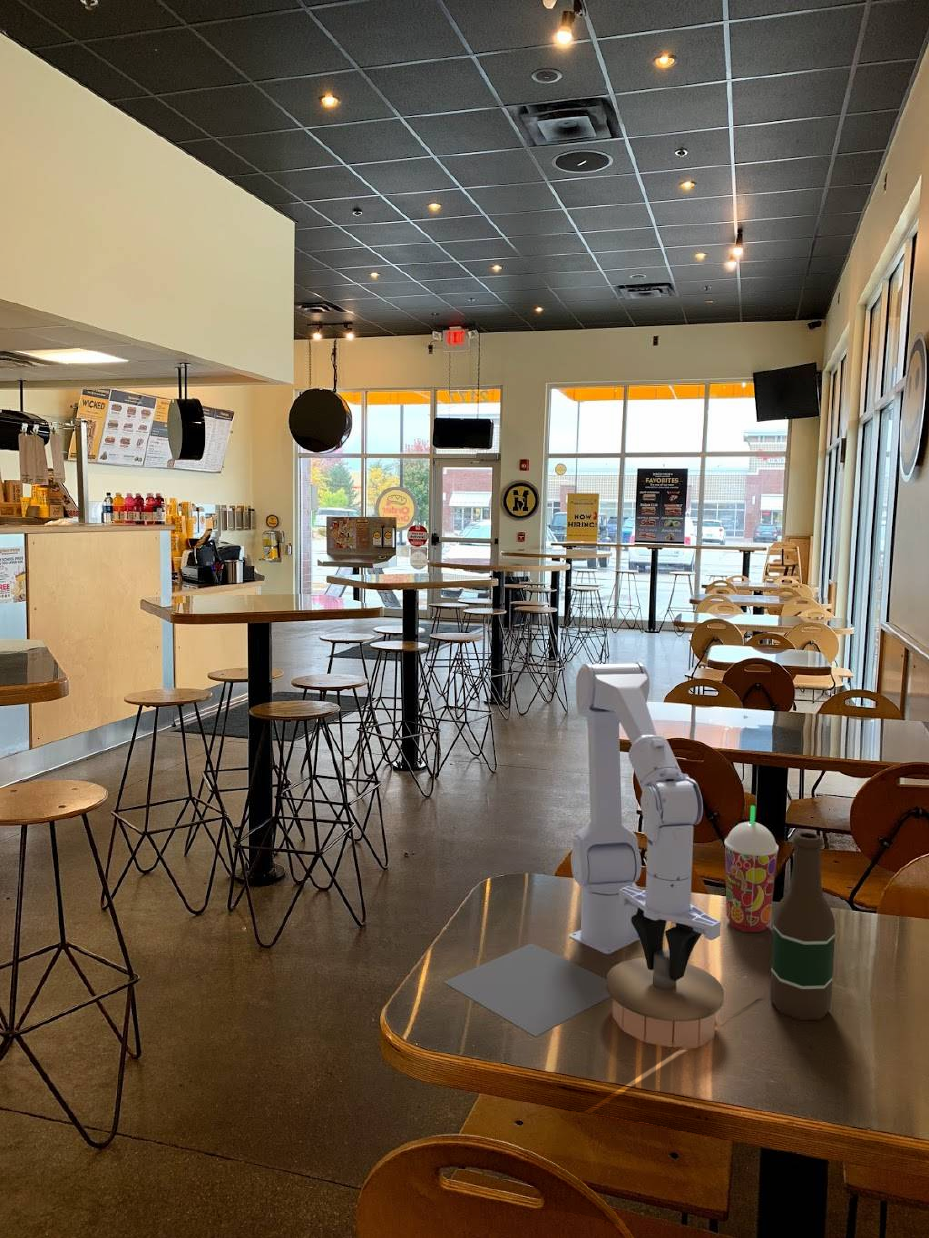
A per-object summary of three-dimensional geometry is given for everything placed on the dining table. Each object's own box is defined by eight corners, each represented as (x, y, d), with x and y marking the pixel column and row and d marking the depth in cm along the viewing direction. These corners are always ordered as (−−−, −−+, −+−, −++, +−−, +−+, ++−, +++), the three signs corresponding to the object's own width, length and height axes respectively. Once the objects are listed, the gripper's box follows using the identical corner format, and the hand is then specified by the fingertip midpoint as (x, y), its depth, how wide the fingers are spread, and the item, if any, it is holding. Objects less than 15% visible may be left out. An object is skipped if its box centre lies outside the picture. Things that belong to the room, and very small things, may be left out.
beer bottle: (829, 997, 124) (838, 829, 122) (832, 1026, 117) (842, 848, 114) (769, 987, 127) (777, 822, 124) (769, 1015, 119) (777, 841, 117)
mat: (531, 946, 138) (531, 942, 138) (624, 991, 125) (624, 988, 125) (443, 985, 126) (443, 981, 126) (535, 1040, 113) (535, 1036, 113)
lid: (655, 953, 128) (657, 920, 127) (747, 996, 116) (749, 960, 116) (582, 984, 118) (583, 949, 118) (674, 1034, 107) (676, 996, 106)
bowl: (653, 985, 127) (654, 958, 127) (734, 1023, 117) (735, 994, 117) (593, 1018, 118) (594, 989, 118) (676, 1062, 109) (677, 1031, 108)
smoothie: (715, 913, 151) (720, 797, 148) (765, 914, 150) (771, 798, 148) (728, 936, 142) (733, 814, 140) (781, 937, 142) (787, 815, 140)
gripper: (605, 863, 118) (602, 961, 120) (699, 898, 108) (695, 1005, 109) (638, 850, 123) (635, 945, 125) (731, 882, 112) (727, 985, 114)
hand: (665, 972), depth 117 cm, fingers closed on lid, 3 cm apart
